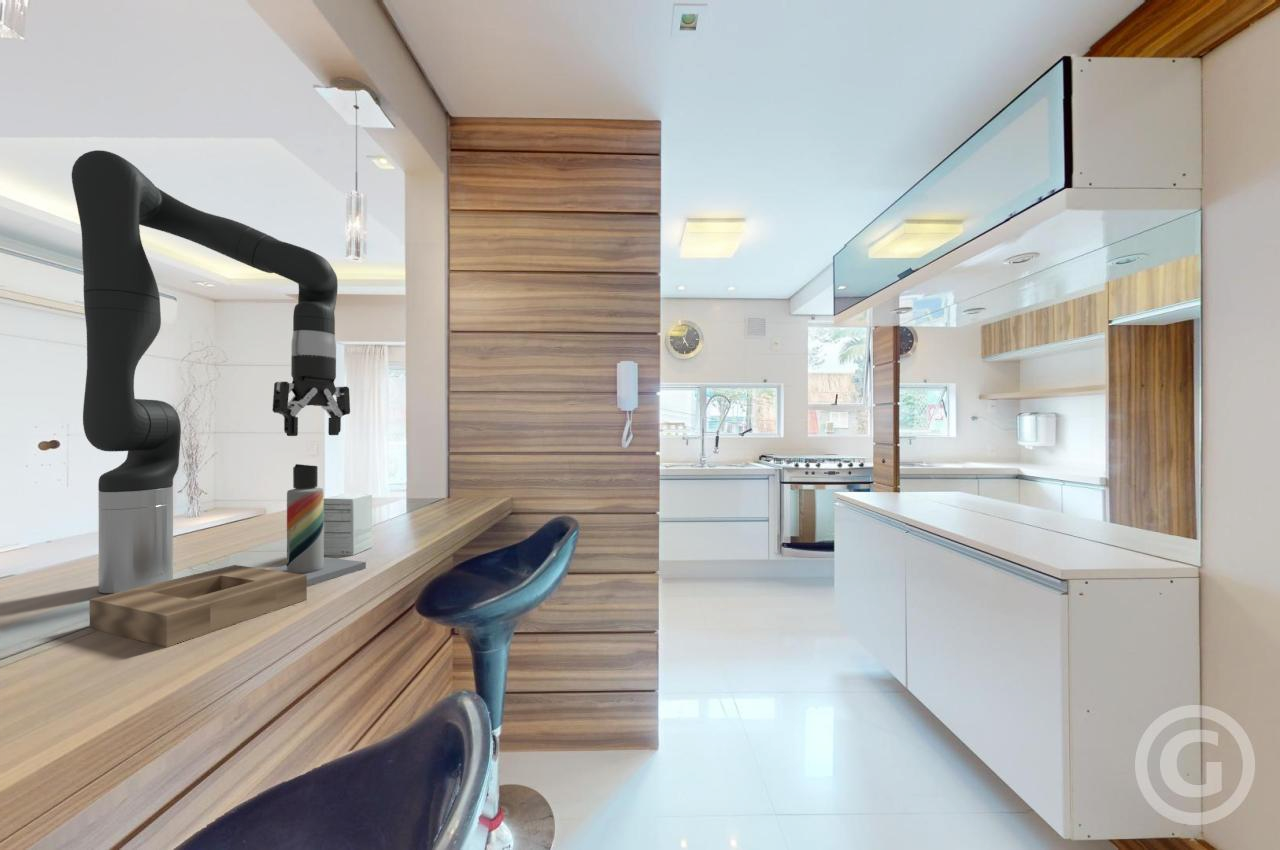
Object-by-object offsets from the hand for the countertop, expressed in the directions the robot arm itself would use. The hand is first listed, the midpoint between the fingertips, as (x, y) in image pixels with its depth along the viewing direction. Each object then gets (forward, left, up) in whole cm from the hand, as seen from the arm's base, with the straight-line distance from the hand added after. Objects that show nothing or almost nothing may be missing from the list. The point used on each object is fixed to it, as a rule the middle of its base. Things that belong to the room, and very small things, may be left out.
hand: (313, 435), depth 98 cm
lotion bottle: (+5, -5, -25) cm, 27 cm away
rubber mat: (+5, -4, -26) cm, 27 cm away
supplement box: (-4, +11, -27) cm, 29 cm away
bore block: (+9, -23, -26) cm, 36 cm away
